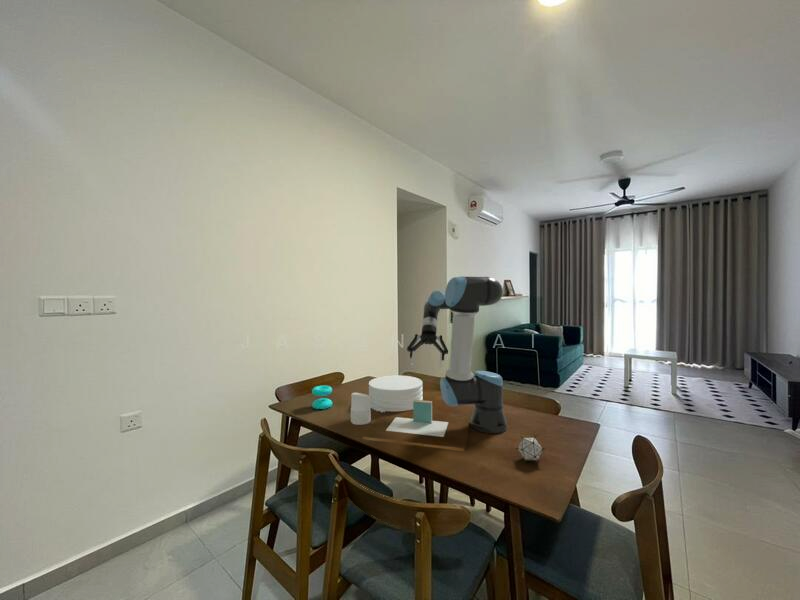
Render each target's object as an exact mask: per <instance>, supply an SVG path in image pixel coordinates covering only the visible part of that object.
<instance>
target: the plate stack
mask: <svg viewBox="0 0 800 600" xmlns="http://www.w3.org/2000/svg"><path fill="white" fill-rule="evenodd" d="M423 382H424V381H423V380H421V378H418V377H414V376H410V375H398V374H397V375H396V374H395V375H385V376H383V375H382V376H378V377H375V378H372V379H371V380H369V382H368V395H370V407H371V408H372V409H371V410H373V409H374V410H373V411H375V410H376V411H375V412H378V411H380V412H379V413H383V412H384V413H385V412H405V411H406V412H407V411H411V410H413V401H414V400H424V398H423V395H424V394H423V390H424V389H423Z"/></svg>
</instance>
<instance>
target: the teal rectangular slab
mask: <svg viewBox="0 0 800 600" xmlns="http://www.w3.org/2000/svg"><path fill="white" fill-rule="evenodd" d="M412 410H413V412H412V413H413V414H412V415H413V416H412V417H413V418H412V419H413V422H421V423H432V421H433V401H432V400H424V399H423V400H414V401H413V409H412Z"/></svg>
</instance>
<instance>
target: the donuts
mask: <svg viewBox="0 0 800 600" xmlns="http://www.w3.org/2000/svg"><path fill="white" fill-rule="evenodd" d="M311 392H312V393H311V394H312V395H314V396H316V397H322V398H317V399H315V400H314V401H313V402H312V403H311V406H312V408H313V409H315V410H318V409H323V410H327V408H328V409H330V408H331V407H332V406H333V401H332V400H331V399H329V398H323V397H326V396H329V395H330V394H331V393H333V388H332V387H331V386H329V385H317V386H314V387H313V388H312V389H311ZM329 407H330V408H329Z"/></svg>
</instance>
